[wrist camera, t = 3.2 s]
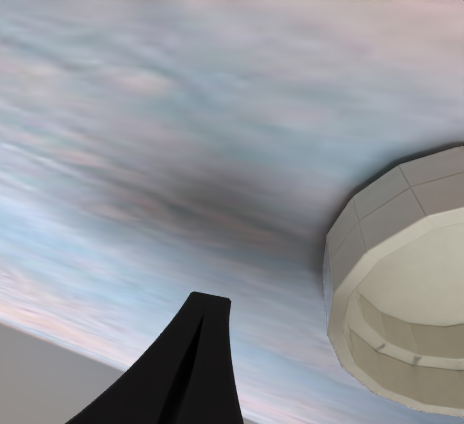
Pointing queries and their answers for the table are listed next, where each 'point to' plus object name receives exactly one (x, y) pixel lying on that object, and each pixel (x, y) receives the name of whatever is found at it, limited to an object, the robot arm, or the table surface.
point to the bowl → (402, 284)
